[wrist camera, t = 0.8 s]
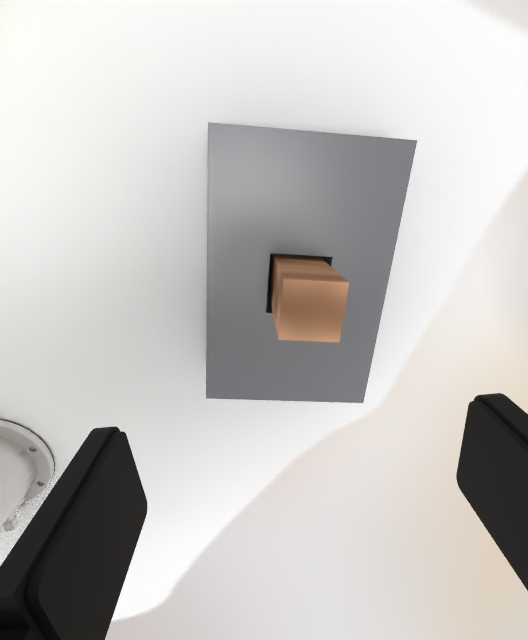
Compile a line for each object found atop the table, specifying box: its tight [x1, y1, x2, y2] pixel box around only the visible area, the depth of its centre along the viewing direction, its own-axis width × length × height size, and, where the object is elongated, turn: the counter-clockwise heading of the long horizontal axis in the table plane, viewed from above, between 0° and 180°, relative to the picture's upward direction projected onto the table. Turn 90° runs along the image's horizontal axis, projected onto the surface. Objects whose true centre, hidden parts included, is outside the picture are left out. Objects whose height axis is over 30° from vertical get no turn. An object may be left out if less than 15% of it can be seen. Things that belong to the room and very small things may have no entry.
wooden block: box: [268, 253, 349, 342], centre depth 29 cm, size 4×4×13 cm
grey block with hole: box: [206, 123, 417, 403], centre depth 32 cm, size 24×16×6 cm, turn 176°
